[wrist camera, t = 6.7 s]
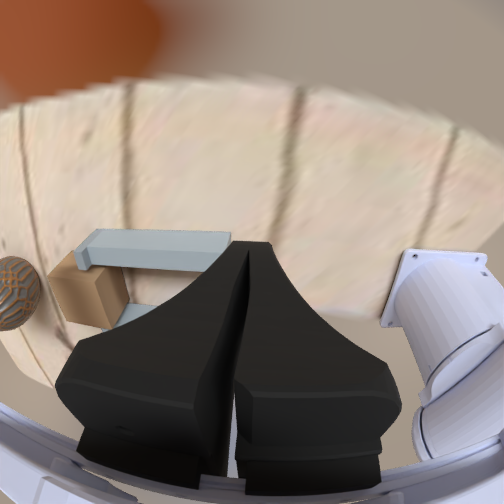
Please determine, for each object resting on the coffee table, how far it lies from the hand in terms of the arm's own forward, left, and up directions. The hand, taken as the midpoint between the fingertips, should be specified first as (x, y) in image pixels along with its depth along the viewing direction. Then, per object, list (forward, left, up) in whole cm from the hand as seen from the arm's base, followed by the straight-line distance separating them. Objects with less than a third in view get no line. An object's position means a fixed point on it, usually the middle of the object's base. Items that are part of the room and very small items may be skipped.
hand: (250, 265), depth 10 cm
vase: (+25, +9, -10) cm, 28 cm away
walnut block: (+14, +8, -9) cm, 19 cm away
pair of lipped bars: (+8, +8, -9) cm, 14 cm away
